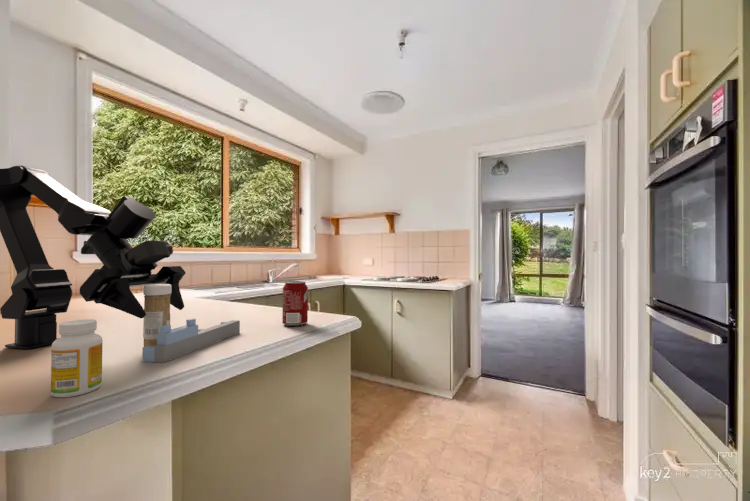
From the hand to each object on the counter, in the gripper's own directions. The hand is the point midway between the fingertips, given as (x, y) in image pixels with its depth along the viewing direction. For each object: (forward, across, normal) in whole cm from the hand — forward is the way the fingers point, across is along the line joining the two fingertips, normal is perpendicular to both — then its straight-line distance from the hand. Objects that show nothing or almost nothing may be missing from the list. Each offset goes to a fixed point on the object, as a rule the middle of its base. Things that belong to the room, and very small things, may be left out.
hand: (164, 312), depth 64 cm
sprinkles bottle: (+5, 0, +7) cm, 8 cm away
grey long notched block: (+7, +7, +4) cm, 11 cm away
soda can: (+16, +30, -4) cm, 34 cm away
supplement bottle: (+7, -17, +5) cm, 19 cm away
